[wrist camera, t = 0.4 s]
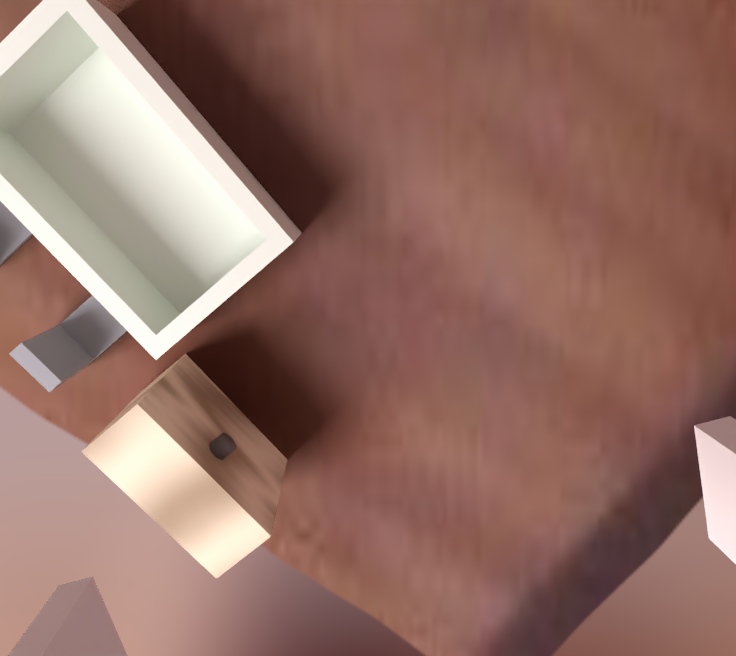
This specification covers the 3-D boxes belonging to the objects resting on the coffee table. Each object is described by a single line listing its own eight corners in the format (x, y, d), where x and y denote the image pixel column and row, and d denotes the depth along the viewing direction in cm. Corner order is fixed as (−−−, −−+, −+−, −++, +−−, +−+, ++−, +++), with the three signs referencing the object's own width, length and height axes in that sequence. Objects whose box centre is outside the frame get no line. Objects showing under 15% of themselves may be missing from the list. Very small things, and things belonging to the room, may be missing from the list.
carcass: (-79, 204, 35) (-165, 208, 29) (116, 14, 33) (66, -23, 27) (114, 394, 38) (72, 431, 32) (302, 232, 36) (293, 242, 30)
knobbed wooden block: (141, 390, 38) (81, 451, 29) (195, 344, 38) (150, 393, 29) (244, 493, 40) (216, 578, 31) (297, 451, 40) (283, 526, 31)
